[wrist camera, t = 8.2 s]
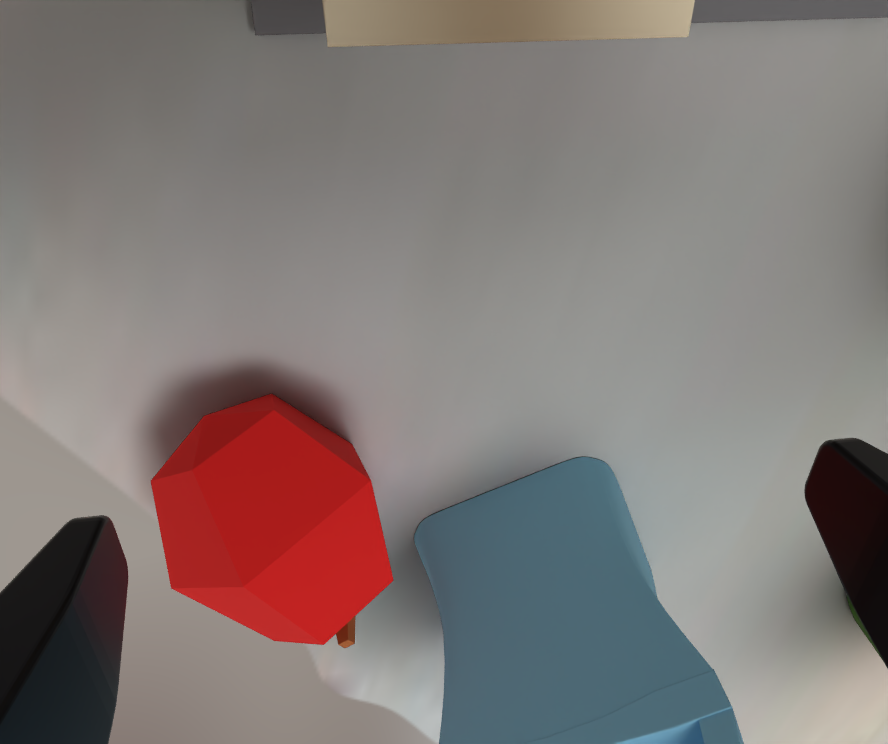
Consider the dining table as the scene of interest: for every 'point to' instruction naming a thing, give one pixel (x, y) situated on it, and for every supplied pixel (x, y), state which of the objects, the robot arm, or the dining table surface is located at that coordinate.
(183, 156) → the dining table surface
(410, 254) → the dining table surface
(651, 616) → the vase
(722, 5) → the mat
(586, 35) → the birch cube
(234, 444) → the apple
